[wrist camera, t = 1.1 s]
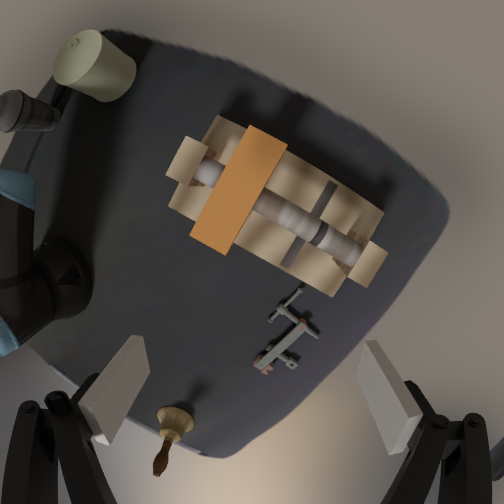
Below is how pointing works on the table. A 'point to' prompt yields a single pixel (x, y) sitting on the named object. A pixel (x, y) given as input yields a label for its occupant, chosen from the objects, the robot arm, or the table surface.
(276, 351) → the clamp
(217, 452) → the table surface
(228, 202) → the orange slotted block
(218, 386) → the table surface
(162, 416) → the hand bell
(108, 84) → the pale green cylinder
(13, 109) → the beverage cup
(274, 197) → the pipe rig
